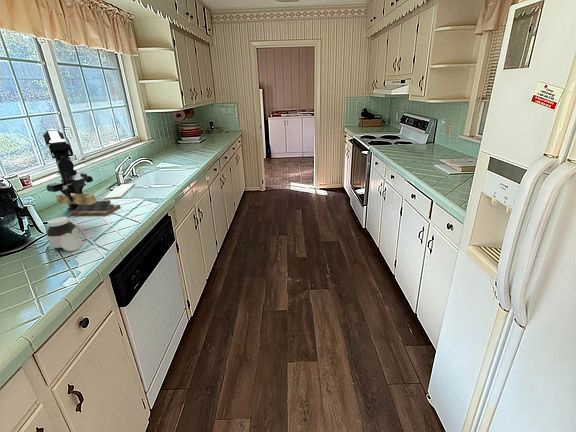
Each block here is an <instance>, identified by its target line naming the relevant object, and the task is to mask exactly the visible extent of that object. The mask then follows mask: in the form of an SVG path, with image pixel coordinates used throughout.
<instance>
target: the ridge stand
mask: <svg viewBox="0 0 576 432" xmlns="http://www.w3.org/2000/svg"><path fill="white" fill-rule="evenodd" d="M77 205H78V207H77V208H76V209H74V210H72V211H71V212H70V213H69V214H70V216H108V215H109V214H111V213H113V212H115V211H116V210H119V209H120V208H121V205H120V204H113V203H111V199H104V200H102V199H96V203H94V204H91V205H84V204H77Z"/></svg>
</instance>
